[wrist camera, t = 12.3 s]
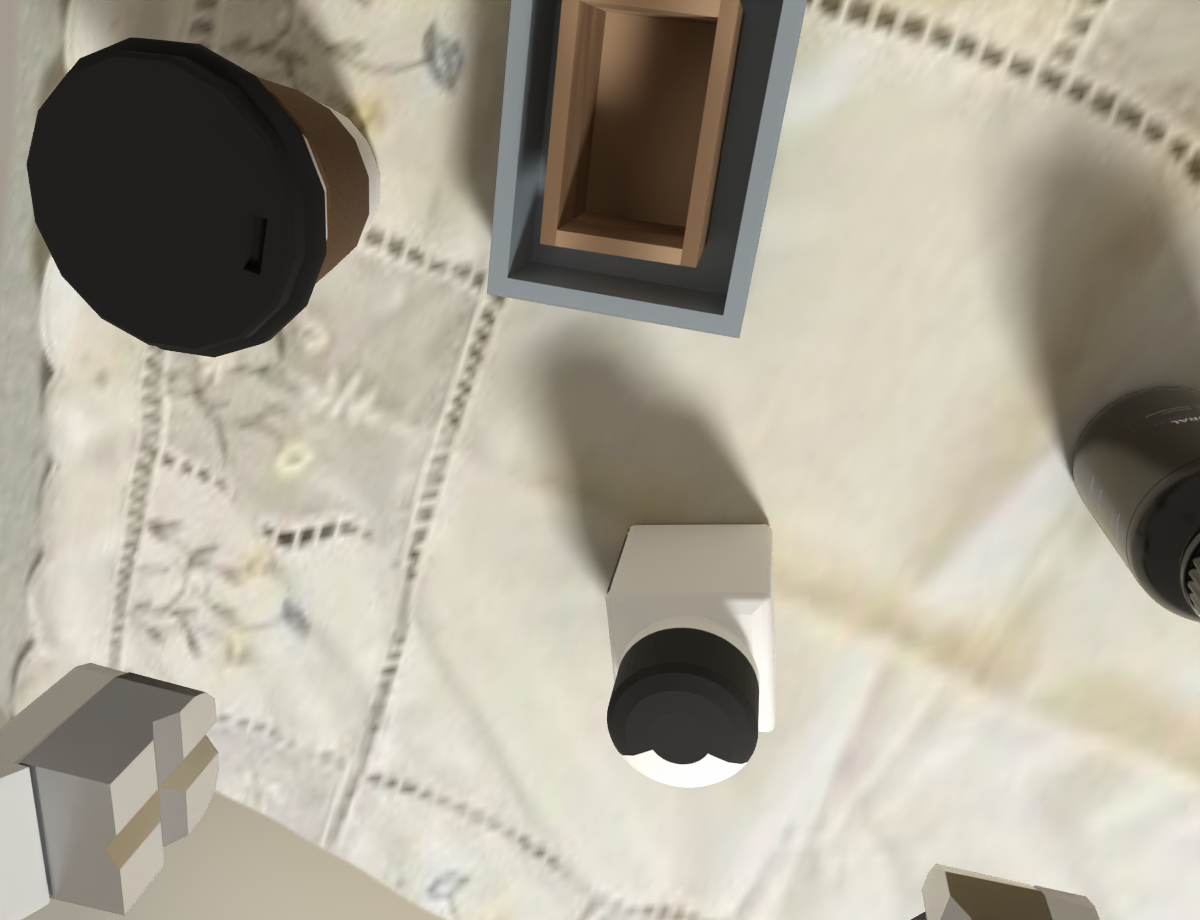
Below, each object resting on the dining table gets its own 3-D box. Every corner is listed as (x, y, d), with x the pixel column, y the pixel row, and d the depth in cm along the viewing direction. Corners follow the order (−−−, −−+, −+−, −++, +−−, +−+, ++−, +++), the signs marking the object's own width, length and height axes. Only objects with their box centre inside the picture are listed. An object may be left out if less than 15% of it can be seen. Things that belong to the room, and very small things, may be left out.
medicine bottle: (627, 522, 46) (581, 659, 35) (772, 521, 44) (770, 663, 34) (639, 642, 48) (599, 805, 38) (775, 645, 47) (774, 815, 36)
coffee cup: (454, 92, 39) (330, 95, 29) (405, 325, 44) (283, 405, 33) (222, 15, 40) (13, -11, 29) (197, 253, 44) (9, 309, 34)
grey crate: (811, -27, 35) (815, -42, 31) (742, 312, 41) (739, 338, 37) (547, -62, 37) (517, -80, 32) (515, 273, 42) (486, 293, 38)
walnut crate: (745, 12, 36) (739, -1, 30) (707, 242, 39) (696, 267, 34) (596, -6, 36) (564, -22, 31) (572, 221, 40) (539, 243, 35)
